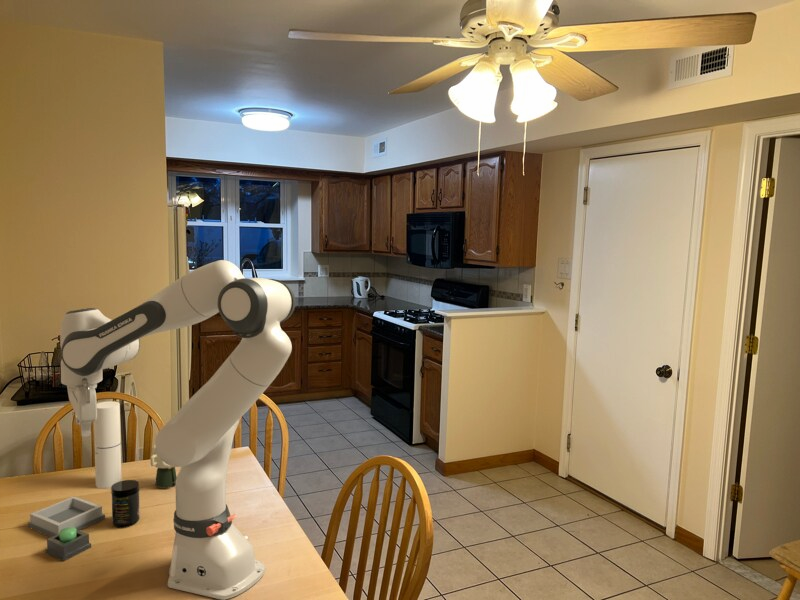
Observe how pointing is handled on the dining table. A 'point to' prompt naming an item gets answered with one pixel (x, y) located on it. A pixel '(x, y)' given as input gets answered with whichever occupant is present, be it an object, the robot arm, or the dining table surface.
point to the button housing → (67, 546)
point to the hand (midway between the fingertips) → (82, 429)
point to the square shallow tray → (65, 516)
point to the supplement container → (125, 503)
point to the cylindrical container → (107, 444)
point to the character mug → (163, 471)
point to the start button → (67, 534)
